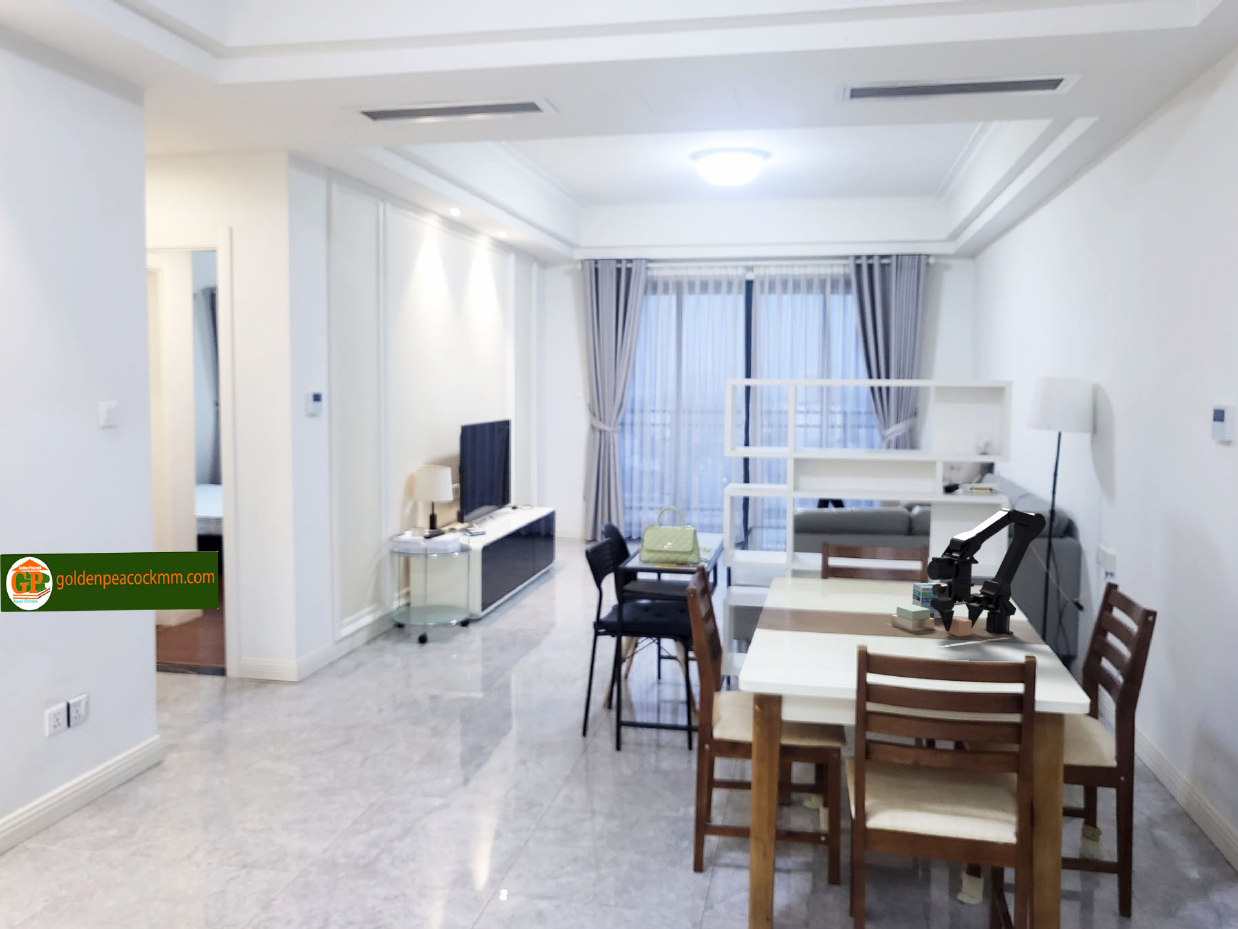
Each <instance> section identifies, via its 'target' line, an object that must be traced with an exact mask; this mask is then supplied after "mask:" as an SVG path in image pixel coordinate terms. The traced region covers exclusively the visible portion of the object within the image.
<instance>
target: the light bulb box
mask: <svg viewBox="0 0 1238 929" xmlns="http://www.w3.org/2000/svg"><path fill="white" fill-rule="evenodd" d="M934 584H941V586H947V583H943V582H923V583H921V582H919V583H917V582H916V583H915V582H914V583H913V584H912V599H911V600H912V602H911V603H912V604H911V605H917V606H920V607H924V608H927V609H930V618H934V619H942V618H941V615H940V613H939V612H938V611H937V610H935V609H934V608H933V607H930V602H931V599H932V598H935V597H937V595H934V594H933V592H932V587H933V585H934ZM944 598H946V597H944ZM948 599H951V598H948Z"/></svg>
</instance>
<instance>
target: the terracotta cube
mask: <svg viewBox="0 0 1238 929" xmlns="http://www.w3.org/2000/svg"><path fill="white" fill-rule="evenodd" d="M971 626H972V621H971V620H968V618H965V617H961V616H957V617H954V616H953V619H952V624H951V628H950V631H949V632H948V631H945V632H946V633H947V634H949V635H954V636H957V637H964V636H971V635H972V629H971Z"/></svg>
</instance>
